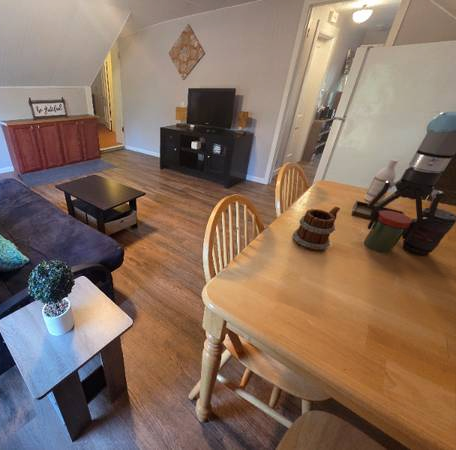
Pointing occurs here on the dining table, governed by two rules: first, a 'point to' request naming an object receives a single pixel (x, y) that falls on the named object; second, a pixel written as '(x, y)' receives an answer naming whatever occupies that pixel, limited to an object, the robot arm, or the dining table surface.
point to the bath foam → (381, 180)
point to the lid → (394, 219)
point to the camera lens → (429, 233)
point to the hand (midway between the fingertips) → (385, 232)
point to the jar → (383, 237)
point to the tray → (367, 210)
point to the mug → (315, 229)
